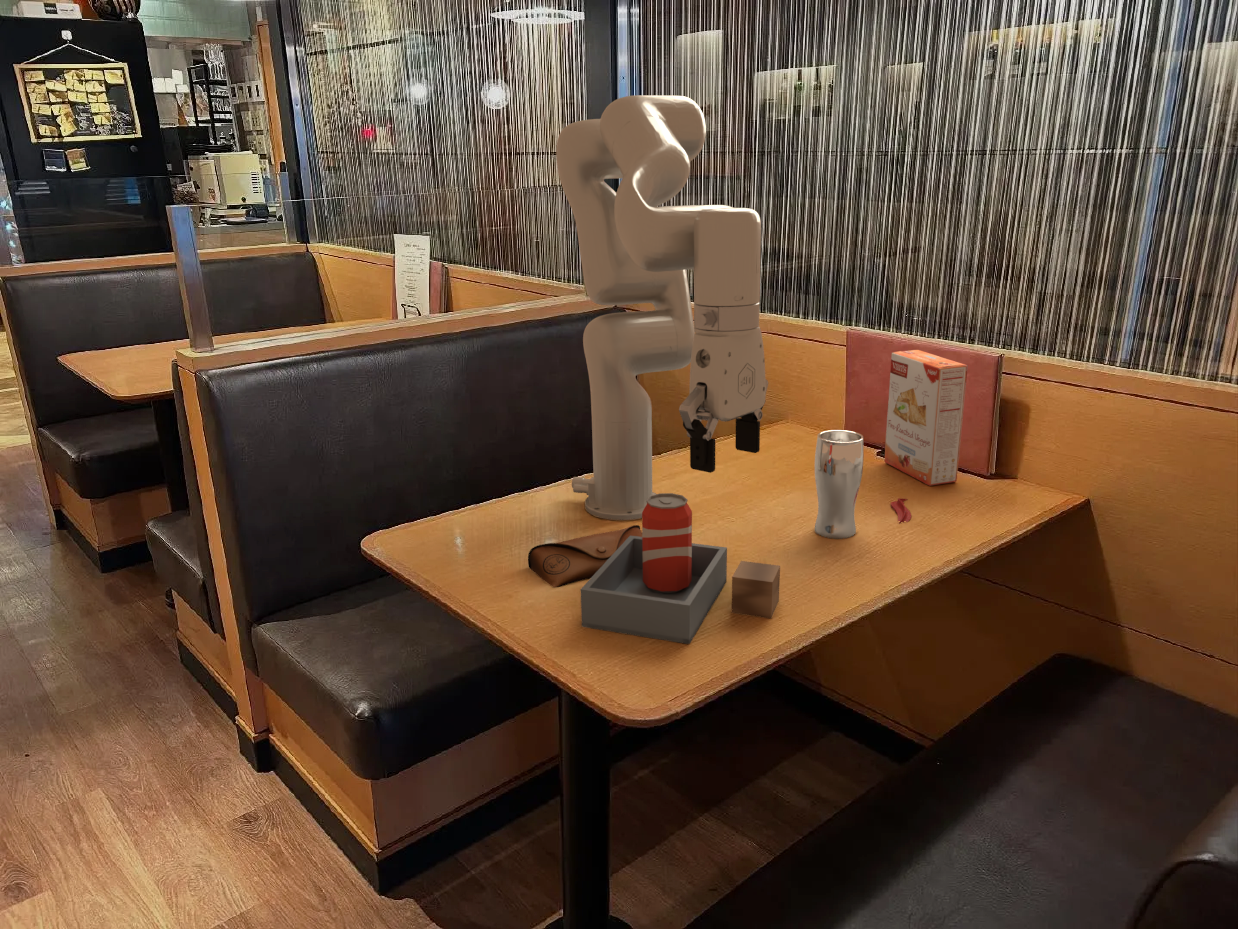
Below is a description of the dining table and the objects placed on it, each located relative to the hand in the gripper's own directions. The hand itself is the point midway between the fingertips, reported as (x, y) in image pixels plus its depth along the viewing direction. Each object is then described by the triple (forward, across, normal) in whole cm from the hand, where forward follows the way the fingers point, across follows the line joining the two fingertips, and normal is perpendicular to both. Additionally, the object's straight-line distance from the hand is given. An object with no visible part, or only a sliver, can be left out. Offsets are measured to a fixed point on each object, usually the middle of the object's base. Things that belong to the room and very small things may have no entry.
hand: (725, 460), depth 111 cm
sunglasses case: (+19, 0, +21) cm, 28 cm away
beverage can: (+18, -1, +8) cm, 20 cm away
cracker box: (+18, +64, +1) cm, 66 cm away
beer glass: (+19, +30, 0) cm, 36 cm away
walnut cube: (+19, +2, -4) cm, 20 cm away
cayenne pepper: (+19, +44, -4) cm, 48 cm away
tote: (+19, -5, +7) cm, 21 cm away
